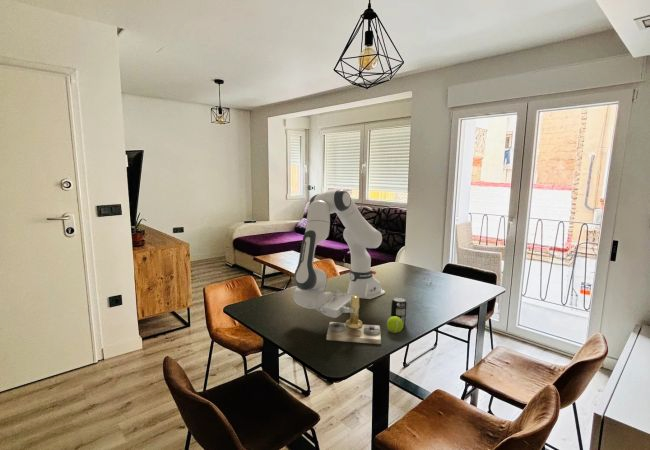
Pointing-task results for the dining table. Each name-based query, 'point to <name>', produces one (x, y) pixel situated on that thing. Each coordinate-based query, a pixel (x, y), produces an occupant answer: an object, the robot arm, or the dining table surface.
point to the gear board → (354, 333)
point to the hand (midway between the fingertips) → (356, 308)
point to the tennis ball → (395, 324)
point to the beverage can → (399, 308)
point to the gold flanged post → (354, 314)
